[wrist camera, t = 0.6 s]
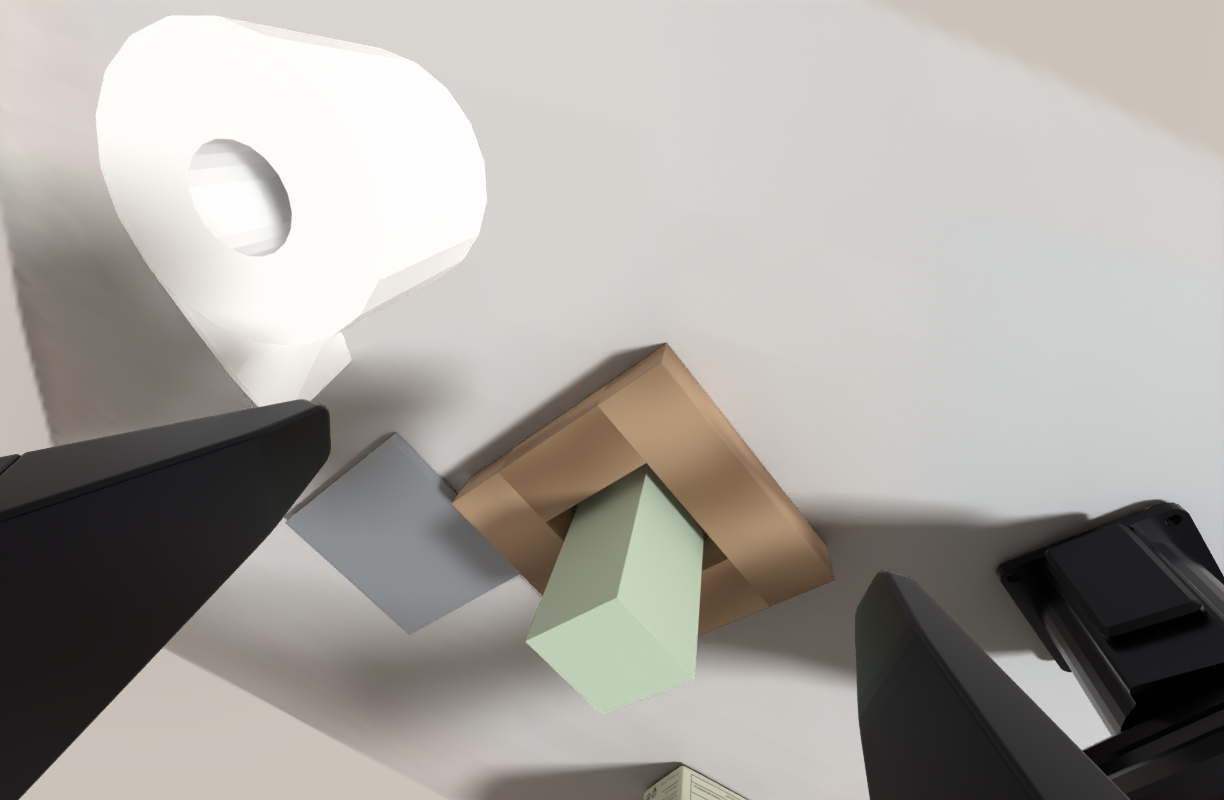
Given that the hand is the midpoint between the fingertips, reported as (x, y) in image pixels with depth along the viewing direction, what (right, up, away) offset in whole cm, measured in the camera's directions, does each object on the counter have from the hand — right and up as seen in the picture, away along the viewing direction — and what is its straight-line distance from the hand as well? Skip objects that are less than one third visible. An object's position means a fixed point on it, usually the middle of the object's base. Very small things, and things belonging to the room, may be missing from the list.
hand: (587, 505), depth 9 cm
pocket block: (+2, -3, +17) cm, 17 cm away
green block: (+2, -3, +17) cm, 17 cm away
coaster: (-10, -5, +20) cm, 23 cm away
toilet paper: (-9, +9, +13) cm, 18 cm away
